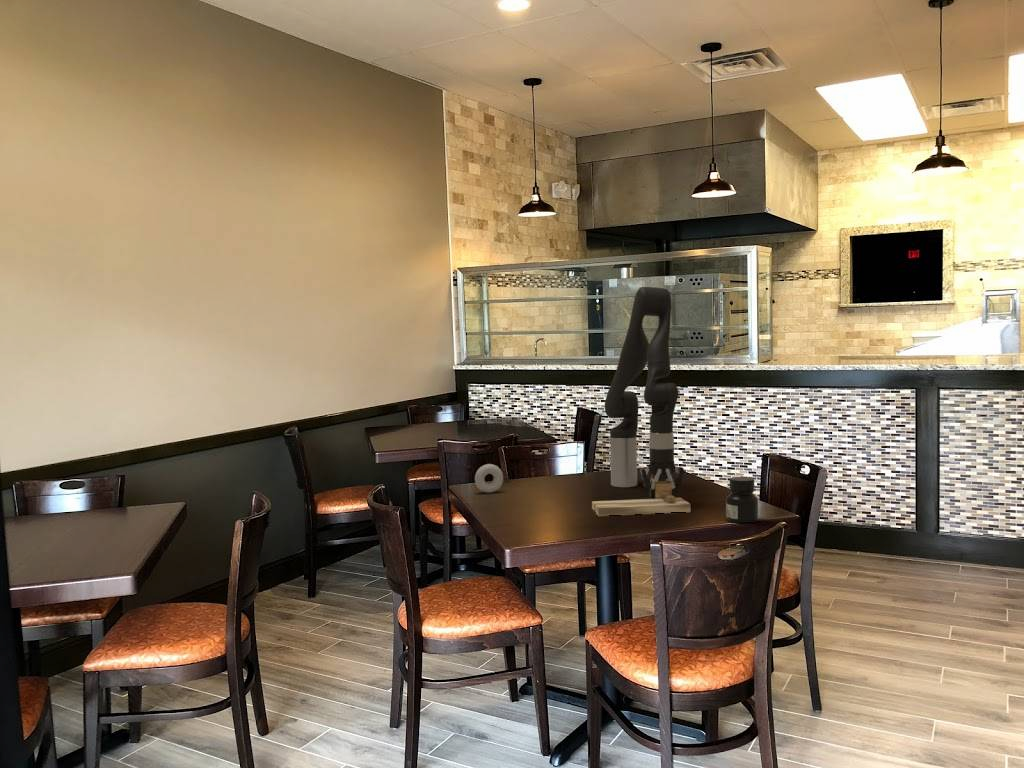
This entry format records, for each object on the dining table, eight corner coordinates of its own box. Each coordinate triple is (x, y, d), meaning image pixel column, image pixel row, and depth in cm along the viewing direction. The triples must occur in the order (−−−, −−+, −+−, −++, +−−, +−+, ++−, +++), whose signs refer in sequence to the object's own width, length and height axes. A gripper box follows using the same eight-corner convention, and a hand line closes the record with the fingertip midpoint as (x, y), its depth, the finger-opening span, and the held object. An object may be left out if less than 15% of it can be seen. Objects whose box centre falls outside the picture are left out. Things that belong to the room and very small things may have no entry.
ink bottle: (725, 516, 251) (724, 475, 250) (756, 516, 249) (756, 475, 249) (727, 523, 241) (727, 481, 240) (760, 524, 240) (759, 482, 239)
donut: (476, 494, 292) (475, 465, 291) (474, 492, 295) (473, 464, 294) (504, 492, 294) (504, 463, 294) (502, 490, 298) (501, 462, 297)
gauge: (651, 503, 271) (651, 481, 271) (667, 502, 272) (667, 480, 272) (663, 512, 258) (663, 489, 258) (680, 511, 259) (679, 488, 258)
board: (592, 509, 264) (591, 501, 264) (680, 505, 267) (680, 497, 267) (598, 516, 254) (598, 508, 254) (690, 512, 257) (690, 503, 257)
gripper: (680, 444, 272) (680, 497, 273) (636, 445, 271) (636, 499, 272) (687, 447, 265) (688, 501, 266) (642, 449, 263) (642, 503, 264)
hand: (662, 500), depth 269 cm, fingers closed on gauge, 5 cm apart
